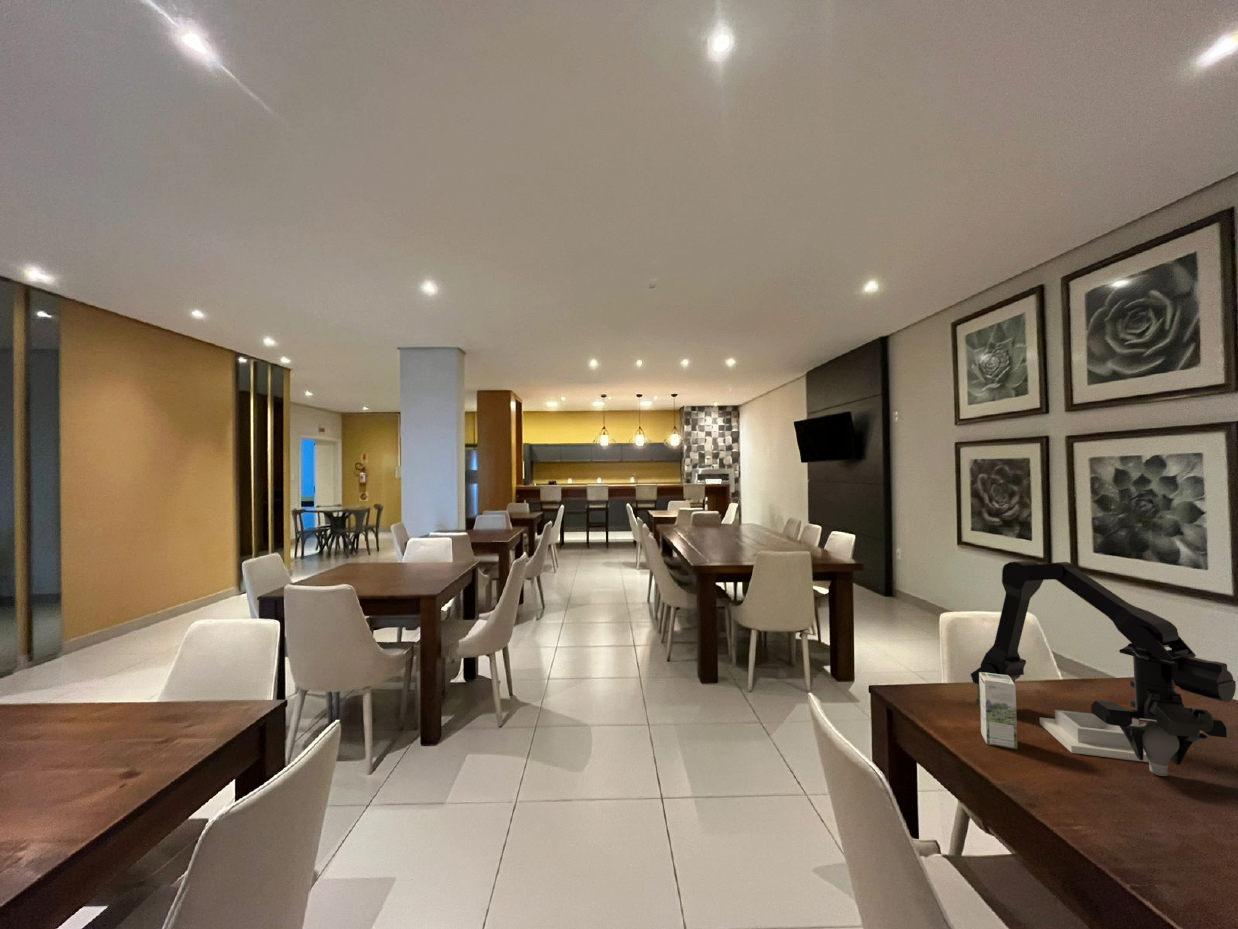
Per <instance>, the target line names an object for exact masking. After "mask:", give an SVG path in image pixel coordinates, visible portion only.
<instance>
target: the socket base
mask: <svg viewBox="0 0 1238 929" xmlns="http://www.w3.org/2000/svg"><path fill="white" fill-rule="evenodd" d="M1039 725H1041V726H1042V727H1043V729H1045V730H1046V731H1048V733H1050V735H1052V736H1053V737H1054V738H1055V739H1056V740H1057V741H1058V742H1059V743H1060V744H1062V746H1064V747H1065V748H1066V749H1067V750H1068V751H1069V752H1070V753H1072V754H1077V755H1079V754H1080V755H1087V756H1095V757H1104V758H1111V759H1119V760H1125V761H1134V762H1142V763H1149V760H1148V758H1147V756H1146V752H1145V750H1144V749H1143V753H1144V756H1143V760H1140V759H1138V758H1137V756H1136V754H1135V752H1134V750H1133V749H1132V747H1131V745H1130V743H1129V741H1128V739H1127V737H1126V736H1125V734H1124V732H1123V731H1122V729H1121V728H1120V726H1115V725H1110V724H1106V723H1105V722H1104V721H1102V720H1101V719H1100V718H1098V717H1097V716H1095V715H1094V714H1093V713H1092V712H1091V713H1090V712H1082V711H1081V712H1079V711H1073V710H1071V711H1070V710H1062V709H1061V710H1060V709H1054V718H1049V717H1048V718H1047V717H1039Z"/></svg>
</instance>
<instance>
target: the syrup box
mask: <svg viewBox="0 0 1238 929" xmlns="http://www.w3.org/2000/svg"><path fill="white" fill-rule="evenodd" d="M979 686H980V706H979V713H980V714H979V715H980V718H979V719H980V734H981V735H982V738H983V740H984V742H985V744H986V745H991V746H995V747H1001V748H1006V749H1012V750H1013V749H1014V750H1017V749H1018V726H1017V724H1018V723H1017V721H1018V720H1017V689H1016V688H1017V686H1016V684H1015V682H1013V681H1012V679H1011V678H1010V677H1009V676H1008V675H1001V674H992V673H984V672H979Z"/></svg>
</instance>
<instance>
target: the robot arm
mask: <svg viewBox="0 0 1238 929" xmlns="http://www.w3.org/2000/svg"><path fill="white" fill-rule="evenodd" d="M1001 571H1002V572H1001V583H1002V586H1003V588H1004V591H1005V594H1004V595H1005V596H1004V599H1003V604H1002V608H1001V612H1000V617H999V621H998V622H999V623H998V626H997V630H996V633H995V634H996V635H995V638H994V643H993V645H992V646H991V647H990V648H989V649H988V651H987V652H986V653H985V654H984V656H983V658H982V661H981V662H980V667H978V668H977V669H976V670H974V671H972V672H971V673H970V677H971V681H972V682H973V684H976V687H977V699H975V702H976V704H978V705H979V707H980V686H979V672H984V673H992V674H1001V675H1008V676H1009V677H1010V678H1011V679H1012V681H1013V682H1014V683H1015V682H1016V680H1017V679H1019V678H1020V677H1021V676H1023V675H1025V671H1024V670H1025V666H1026V664H1027V660H1026V659H1024V658H1022V657H1020V652H1019V646H1020V641H1021V639H1022V634H1023V630H1024V626H1025V622H1026V618H1027V614H1028V609H1029V605H1030V601H1031V598H1033V596H1034V595H1035V594H1036V593H1037V591H1039V590H1040V588H1041V586H1042V584H1043V582H1044V581H1048V580H1050V581H1051V580H1055V581H1057V582H1059V583H1060V584H1061V585H1063V586H1064V587H1065V588H1067V589H1068V590H1070V592H1072V593H1074V594H1075V595H1077V597H1078V598H1079V597H1080V598H1081V599H1082V600H1084V601H1085V602H1086V603H1088V604H1089V605H1091V606H1092V607H1094V608H1095V609H1096V610H1098V611H1099V612H1101V613H1102V614H1103V615H1105V616H1106V617H1107V618H1108V619H1110V621H1111V622H1112V623H1113V624H1114V627H1115V628H1116V630H1118V632H1119V633H1121V635H1123V636H1124V637H1125V639H1127V640H1128V641H1129V643H1128V644H1127V645H1126V646H1124V647H1123V648H1122V647H1121V648H1120V649H1119V650H1118V652H1119V653H1120V654H1124V655H1127V656H1130V657H1131V656H1132V661H1133V680H1130V681H1129V682H1130V687H1132V688H1134V700H1131V701H1130V704H1131V707H1132V708H1134V709H1129V708H1125V707H1124V706H1121V705H1120V704H1118V703H1117V702H1115V701H1104V700H1094V701H1093V702H1092V704H1091V705H1090V707H1091V710H1090V711H1091V714H1094V715H1095V716H1097V717H1098V718H1100V719H1101V720H1102V721H1104V722H1105V723H1106V724H1110V725H1115V726H1120V728H1121V729H1122V731H1123V732H1124V734H1125V736H1126V737H1127V739H1128V741H1129V743H1130V745H1131V747H1132V749H1133V750H1134V752H1135V754H1136V756H1137V758H1138V759H1140V760H1143V756H1144V753H1143V742H1142V735H1143V734H1144V732H1145V730H1144V729H1142V728H1141V727H1139V726H1140V722H1145V723H1146V722H1155V723H1159V724H1160V725H1161V726H1162V728H1163V730H1164V731H1165V732H1166V733H1168V734H1170V735H1173V736H1177V738H1178V740H1179V749H1178V751H1177V752H1176V753H1175V754H1174V755H1173V756H1172V758H1171V759H1172V761H1173V763H1174V764H1175V765H1176V766H1179V765H1181V763H1182V762H1183V760H1184V758H1185V756H1186V753H1187V752H1188V750H1189V749H1190V747H1191V746H1192V745H1193V743H1194V742H1196V741H1199V740H1207V738H1208V736H1209V737H1215V738H1216V737H1218V738H1228V737H1229V728H1228V726H1227V724H1226V723H1225V722H1224V721H1223V720H1221V719H1219V718H1218V717H1216V716H1214V715H1212V713H1210V712H1209V710H1206V709H1201V708H1193V707H1185V705H1184V702H1183V697H1182V696H1181V693H1179V692H1177V691H1176V687H1179V689H1180V690H1181V691H1183V692H1186V693H1190V694H1194V695H1198V696H1201V697H1204V698H1208V699H1211V700H1215V701H1216V700H1217V701H1220V702H1223V703H1229V702H1231V701H1232V700H1233V698H1234V697H1235V694H1236V689H1237V687H1236V686H1237V685H1236V680H1235V679H1234V676H1233V674H1232V673H1231V671H1229V670H1228V664H1226V663H1225V662H1220V661H1216V660H1215V661H1212V660H1208V659H1207V660H1206V659H1202V658H1198V657H1196V656H1197V655H1196V654H1195V652H1194V651H1193V650H1192V649H1191V647H1190V646H1189V645H1188V644H1187V643H1186V642H1185V641H1184V640H1183V638H1182V637H1181V636H1180V635H1179V632H1178V628H1177V627H1176V625H1175V624H1173V623H1172V622H1170V621H1169V620H1167V619H1166V618H1163V617H1162V616H1159V615H1157V614H1155V613H1154V612H1151V611H1149V610H1146V609H1143V608H1140V607H1138V606H1135V605H1133V604H1131V603H1129V602H1127V601H1126V600H1124V599H1123V598H1121V597H1120V596H1119V595H1117V594H1116V593H1114V592H1112V591H1111V590H1109V589H1108V588H1107V587H1105V586H1103V585H1102V584H1100V583H1099V582H1098V581H1096V580H1094V579H1093V578H1091V577H1090V576H1089V575H1087V574H1086V573H1084V572H1083V571H1081V570H1080V569H1078V568H1077V567H1076V565H1075V564H1073V563H1071V562H1068V561H1060V562H1051V563H1038V562H1037V561H1035V560H1031V559H1030V560H1021V561H1020V560H1019V561H1010V562H1007V563H1005V564H1004V565H1003V566H1002V570H1001ZM1166 648H1170V649H1166ZM1202 732H1203V733H1202ZM1207 735H1208V736H1207Z"/></svg>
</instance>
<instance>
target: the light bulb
mask: <svg viewBox="0 0 1238 929" xmlns="http://www.w3.org/2000/svg"><path fill="white" fill-rule="evenodd" d="M1139 727H1141V728H1142V729H1144V730H1145V732H1144V734H1143V735H1142V742H1143V749H1144V750H1145V752H1146V756H1147V758H1148V760H1149V762H1148V765H1149V766H1148V767H1149V772H1151V773H1153V774H1154V775H1157V776H1159V777H1165V776H1166V777H1167V776H1169V765H1170V763H1171V759H1172V756H1173V755H1174V754H1175V753H1176V752H1177V751H1178V749H1179V740H1178V738H1177V736H1173V735H1170V734H1168V733H1166V732H1165V731H1164V730H1163V728H1162V726H1161V725H1160V724H1159V723H1155V722H1146V721H1145V722H1143V723H1141V724H1139Z"/></svg>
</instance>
